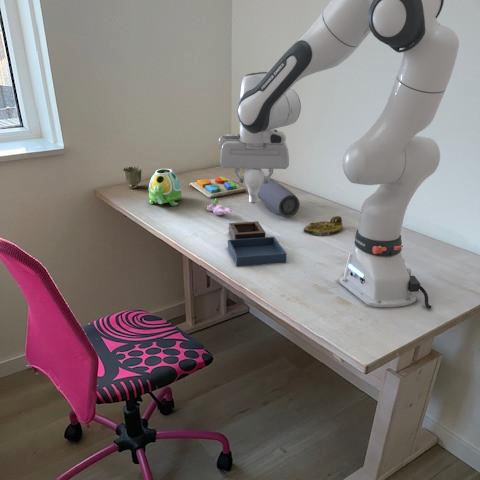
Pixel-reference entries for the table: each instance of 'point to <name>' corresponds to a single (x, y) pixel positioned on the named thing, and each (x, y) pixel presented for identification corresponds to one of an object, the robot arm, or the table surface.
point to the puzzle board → (217, 187)
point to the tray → (256, 251)
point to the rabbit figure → (218, 208)
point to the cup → (132, 176)
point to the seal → (325, 227)
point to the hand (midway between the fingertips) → (253, 183)
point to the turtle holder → (164, 187)
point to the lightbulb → (253, 182)
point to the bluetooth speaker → (278, 199)
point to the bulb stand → (246, 230)
